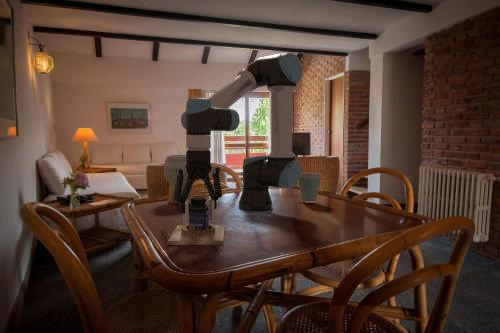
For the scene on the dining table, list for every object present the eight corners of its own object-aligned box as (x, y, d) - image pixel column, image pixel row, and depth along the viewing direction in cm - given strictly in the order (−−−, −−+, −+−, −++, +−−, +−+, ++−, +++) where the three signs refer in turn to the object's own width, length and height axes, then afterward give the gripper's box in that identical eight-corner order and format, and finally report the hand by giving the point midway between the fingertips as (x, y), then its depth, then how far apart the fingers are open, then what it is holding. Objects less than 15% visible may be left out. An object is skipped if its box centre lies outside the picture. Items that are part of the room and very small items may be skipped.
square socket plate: (224, 228, 107) (224, 220, 107) (223, 244, 92) (223, 234, 91) (177, 228, 107) (177, 220, 106) (167, 244, 91) (167, 234, 90)
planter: (182, 197, 162) (182, 154, 160) (205, 201, 153) (205, 155, 151) (157, 202, 149) (156, 155, 147) (180, 206, 140) (179, 156, 138)
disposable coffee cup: (297, 200, 158) (298, 170, 157) (319, 201, 157) (320, 171, 156) (298, 204, 148) (299, 173, 146) (321, 205, 146) (322, 173, 145)
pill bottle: (210, 234, 97) (209, 199, 96) (190, 236, 95) (189, 200, 94) (206, 228, 103) (206, 195, 102) (187, 230, 101) (187, 196, 100)
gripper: (222, 148, 105) (222, 214, 107) (161, 149, 94) (162, 223, 96) (233, 149, 99) (233, 219, 101) (169, 150, 88) (170, 229, 90)
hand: (198, 221), depth 99 cm, fingers open, 8 cm apart
